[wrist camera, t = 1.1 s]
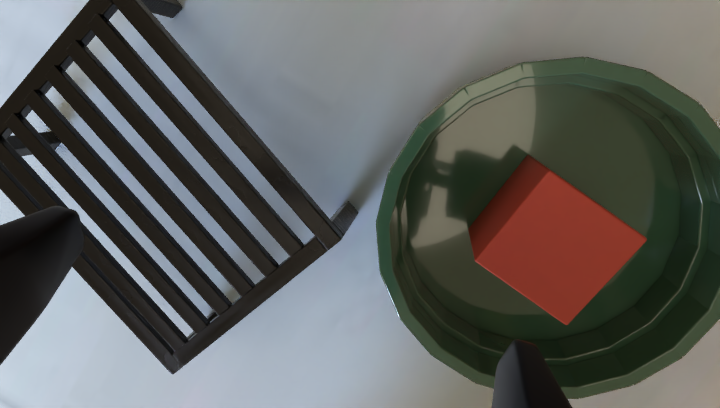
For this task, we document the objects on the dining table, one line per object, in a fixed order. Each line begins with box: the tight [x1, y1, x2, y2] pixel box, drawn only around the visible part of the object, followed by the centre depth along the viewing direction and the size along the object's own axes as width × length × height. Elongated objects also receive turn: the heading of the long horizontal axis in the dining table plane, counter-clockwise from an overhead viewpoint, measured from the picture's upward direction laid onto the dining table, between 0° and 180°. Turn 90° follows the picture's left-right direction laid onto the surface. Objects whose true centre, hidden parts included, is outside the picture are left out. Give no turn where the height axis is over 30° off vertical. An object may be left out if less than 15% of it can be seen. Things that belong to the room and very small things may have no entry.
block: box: [468, 155, 647, 325], centre depth 21 cm, size 4×4×4 cm
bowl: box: [376, 57, 720, 399], centre depth 21 cm, size 14×14×4 cm
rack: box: [0, 0, 358, 374], centre depth 23 cm, size 14×11×5 cm
